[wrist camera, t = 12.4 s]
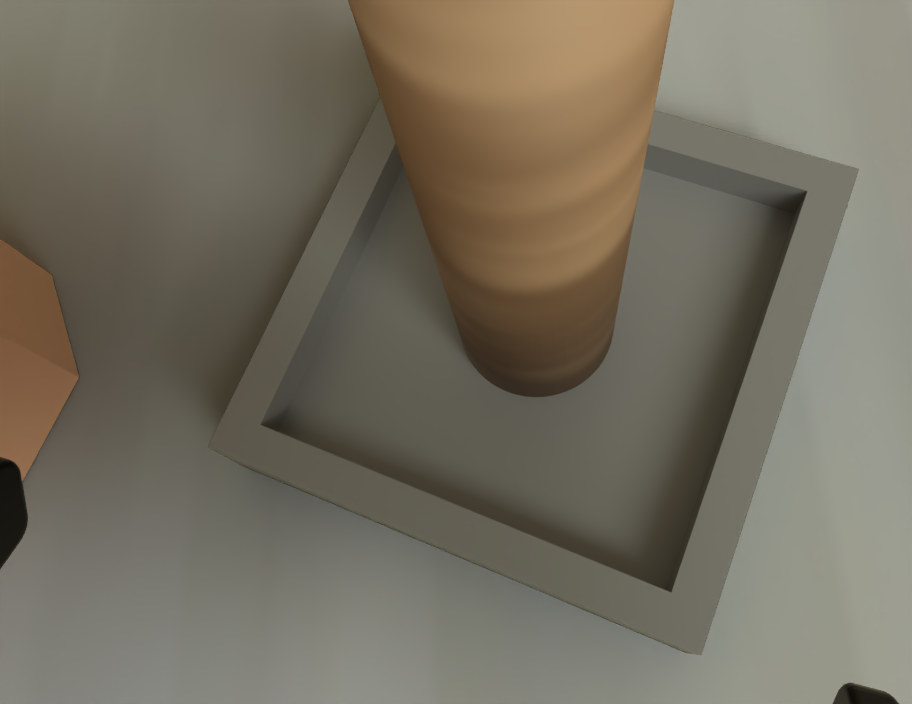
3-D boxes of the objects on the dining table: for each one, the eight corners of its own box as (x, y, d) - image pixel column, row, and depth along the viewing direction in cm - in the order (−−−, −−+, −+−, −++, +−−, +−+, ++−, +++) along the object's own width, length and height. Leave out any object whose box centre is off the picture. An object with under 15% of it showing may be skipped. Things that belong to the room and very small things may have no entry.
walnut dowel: (645, 324, 18) (794, -193, 7) (534, 428, 18) (490, 67, 6) (538, 225, 19) (508, -375, 8) (429, 322, 19) (227, -159, 7)
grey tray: (830, 214, 19) (858, 168, 18) (685, 652, 17) (701, 655, 15) (421, 92, 22) (408, 40, 20) (242, 465, 19) (207, 446, 17)
